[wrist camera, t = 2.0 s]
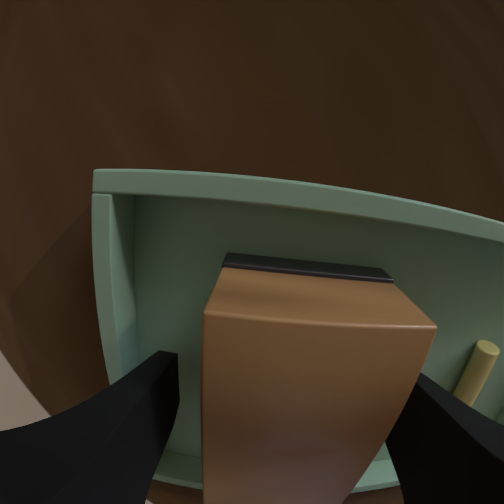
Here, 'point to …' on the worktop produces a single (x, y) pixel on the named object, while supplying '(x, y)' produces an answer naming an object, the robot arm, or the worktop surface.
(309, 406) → the eraser
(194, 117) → the worktop surface
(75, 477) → the robot arm
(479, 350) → the chalk stub
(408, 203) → the tray
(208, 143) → the worktop surface
